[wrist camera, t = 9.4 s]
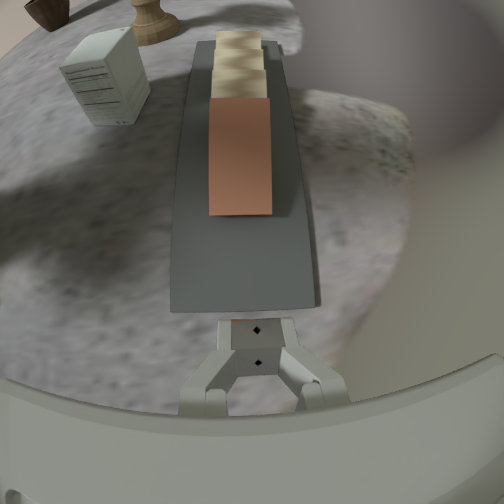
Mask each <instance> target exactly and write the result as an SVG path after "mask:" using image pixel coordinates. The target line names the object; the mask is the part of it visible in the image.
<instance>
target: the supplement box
mask: <svg viewBox="0 0 504 504" xmlns="http://www.w3.org/2000/svg"><path fill="white" fill-rule="evenodd" d="M59 69H60V71H61V72H62V74H63V76H64V78H65V80H66V81H67V83H68V85H69V87H70V88H71V90H72V92H73V94H74V95H75V97H76V99H77V100H78V102H79V104H80V105H81V107H82V109H83V110H84V112H85V114H86V115H87V117H88V119H89V120H90V122H91V123H92V125H93V126H109V125H134V124H135V121H136V119H137V117H138V115H139V113H140V111H141V109H142V107H143V105H144V103H145V101H146V99H147V97H148V95H149V94H150V92H151V90H150V87H149V83H148V80H147V77H146V74H145V70H144V67H143V63H142V60H141V57H140V53H139V50H138V46H137V43H136V39H135V35H134V32H133V28H132V27H124V28H119V29H114V30H109V31H104V32H100V33H96V34H92V35H88V36H86V37H85V39H84V40H83V41H82V42H81V43H80V44H79V45H78V46H77V47H76V48H75V49H74V51H73V52H72V53H71V54H70V55H69V56H68V57H67V59H66V60H65V61H64V62H63V63H62V64H61V66H60V67H59Z"/></svg>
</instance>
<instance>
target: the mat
mask: <svg viewBox="0 0 504 504" xmlns="http://www.w3.org/2000/svg"><path fill="white" fill-rule="evenodd" d="M215 49H216V40H214V41H198V42H197V45H196V50H195V55H194V59H193V64H192V69H191V74H190V80H189V85H188V91H187V97H186V103H185V109H184V116H183V123H182V130H181V137H180V145H179V154H178V162H177V172H176V183H175V194H174V207H173V223H172V242H171V276H170V312H244V311H269V310H288V309H304V308H315V296H314V282H313V270H312V258H311V248H310V238H309V228H308V219H307V211H306V203H305V195H304V187H303V180H302V172H301V165H300V159H299V152H298V146H297V140H296V134H295V128H294V122H293V116H292V111H291V105H290V100H289V95H288V90H287V85H286V80H285V75H284V70H283V66H282V61H281V56H280V52H279V48H278V43H277V41H263V40H261V49H263V62H264V70H266V84H267V98H270V127H271V169H272V214H261V215H212V216H209V104H210V98H211V90H212V70H214V51H215Z"/></svg>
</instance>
